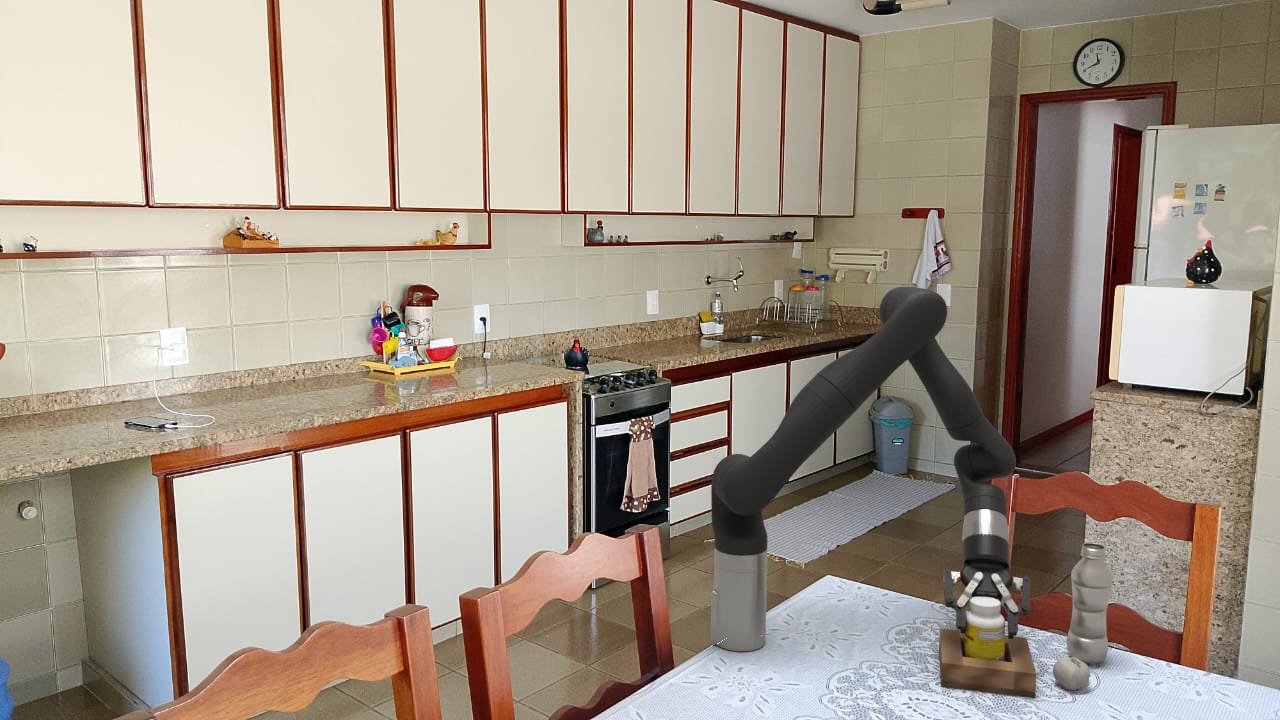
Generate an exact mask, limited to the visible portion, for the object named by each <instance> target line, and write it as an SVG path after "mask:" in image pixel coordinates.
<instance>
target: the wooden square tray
mask: <svg viewBox="0 0 1280 720" xmlns="http://www.w3.org/2000/svg"><path fill="white" fill-rule="evenodd" d="M938 641H939V642H938V657H939V659H938V660H939V672H940V673H939V677H940V687H942V688H948V689H949V688H951V689H958V690H966V691H975V692H980V693H983V692H984V693H990V694H998V695H1005V696H1006V695H1007V696H1015V697H1023V698H1030V699H1036V688H1037V671H1036V667H1035V665H1034V659H1033V656H1032V652H1031V650H1030V649H1031V648H1030V646H1029V642H1028V641H1029V640H1028V639H1027V637H1024V636H1017V635H1016V636H1014V637H1013V639H1008V634H1005V649H1004V662H1003V661H995V660H986V659H977V658H969V657H964V656H965V634H963V633H961V630H958V629H950V628H943V627H941V628H939V640H938Z"/></svg>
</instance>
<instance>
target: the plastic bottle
mask: <svg viewBox="0 0 1280 720" xmlns="http://www.w3.org/2000/svg"><path fill="white" fill-rule="evenodd" d="M1080 556H1081V557H1082V558H1081V559H1080V560H1079V561H1078V562H1077V563H1076V564H1075V565H1074V567H1072V570H1071V574H1070V577H1071V578H1070V579H1071V582H1070V583H1071V591H1072V614H1071V619H1070V627H1069V629H1068V633H1067V637H1066V643H1065V644H1066V649H1067V650H1066V651H1067V653H1068V655H1069V656H1070V658H1071V657H1075V658H1077V659H1079V660H1080V661H1082V662H1084V663H1085V664H1094V665H1097V664H1100V663H1103V662H1104V660H1106V658H1107V655H1108V652H1109V641H1108V636H1107V612H1108V611H1107V610H1108V604H1109V598H1110V594H1111V590H1112V585H1113V575H1112V572H1111V571H1110V568H1109V566H1108V565H1107V564H1106V563H1105V562H1104V560H1106V546H1105V545H1103V544H1100V543H1096V542H1095V543H1094V542H1085V543H1084V542H1083V543H1082V545H1081V551H1080Z"/></svg>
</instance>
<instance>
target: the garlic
mask: <svg viewBox="0 0 1280 720" xmlns="http://www.w3.org/2000/svg"><path fill="white" fill-rule="evenodd" d="M1052 674H1053V678H1054V679H1055V681H1056V682H1058V684H1060V685H1061V686H1062V687H1064V688H1065V689H1067V690H1068V691H1074V690H1080V689H1083V688H1084V687H1087V686H1088V684H1089V680H1090V674H1091V672H1090V668H1089V666H1088V664H1087V663H1084V662H1082V661H1080V660H1079V659H1077V658H1075V657H1071V656H1070V657H1069V656H1067V657H1061V658H1058V659H1057V661H1055V663H1054V664H1053V667H1052Z"/></svg>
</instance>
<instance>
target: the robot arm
mask: <svg viewBox="0 0 1280 720" xmlns="http://www.w3.org/2000/svg"><path fill="white" fill-rule="evenodd" d="M878 311H879V313H878V314H879V318H880V322H881V325H882V326H881V327H880V328H879V329H878V330H877V331H876V332H875V333H874V334H873V335H872V336H871V337H869V338H868V340H866V341H864V342H863V343H862V344H860V345H859V346H857V347H855V348H854V349H852V350H850V351H848V352H846V353H845V354H842V355H841V356H839V357H838V358H836V359H835V360H833V361H832V362H830V363H829V364H827V365H826V366H824V368H822V369H821V370H819V371H818V372H817V373H816V375H814V376H813V377H812V378H811V379H810V380H809V381H808V383H806V384H805V385H804V387H802V389H800V391H799V392H798V393H797V394H796V395H795V396H794V398H793V400H792V402H791V403H790V405H789V406H788V408H787V410H786V413H785V414H784V416H783V418H782V420H781V422H780V424H779V426H778V427H777V429H776V431H774V433H773V434H772V436H771V437H770V438H769V439H767V441H766V442H765V443H764V444H763V445H762V446H761V447H760V448H759V449H758V450H757V451H755V452H754V453H753V454H752V455H751V456H749V455H747V454H741V453H734V454H733V453H732V454H729V455H727V456H725V457H723V458H722V459H721V460H720V461H719V462H718V463H716V466H715V468H714V469H713V473H712V477H711V485H710V486H711V489H710V494H711V496H710V497H711V501H710V503H711V505H710V506H711V526H712V527H711V528H712V532H713V536H714V537H713V538H714V567H713V568H714V569H713V570H714V572H713V573H714V574H713V575H714V576H713V579H714V580H713V582H714V583H713V589H712V590H711V595H710V597H711V598H710V599H711V600H710V601H711V602H710V605H711V606H710V645H714V646H718V647H720V648H722V649H725V650H729V651H732V652H733V651H735V652H751V651H755V650H759V649H761V648H762V647H764V646H765V644H766V635H767V628H766V627H767V589H768V584H767V583H768V582H767V581H768V579H767V578H768V533H767V529H766V526H765V523H764V518H763V517H764V516H763V510H764V509H766V508H767V507H768V506H769V505H770V504H771V503H772V501H773V500H774V499H776V497H777V495H778V494H779V493H780V492H781V490H782V489H783V488H784V486H785V485H786V484H788V481H790V479H791V478H792V477H793V475H794V474H796V472H797V470H798V469H799V468H800V467H801V466H802V465H803V464H804V463H805V462H806V461H807V460H808V459H809V458H810V457H811V456H812V455H813V454H814V453H815V452H816V451H817V450H819V449H820V447H821V446H822V445H823V444H825V442H826V441H827V440H828V439H829V438H830V437H831V436H832V435H833V434H834V433H835V432H837V431H838V430H839V429H840V427H842V426H843V425H844V424H845V423H846V421H848V420H849V419H850V417H852V416H853V415H854V414H855V413H856V412H857V411H858V409H860V407H861V406H862V405H863V404H864V403H865V402H866V401H867V400H868V399H870V397H871V396H872V395H873V394H874V393H875V392H876V391H877V390H878V389H879V388H880V387H881V386H882V385H883V383H885V382H886V381H887V379H888V378H890V376H891V375H892V374H894V372H895V371H897V370H898V368H899V367H900V366H902V365H903V364H904V363H905V362H907V361H908V362H909V364H910V365H911V367H912V368H913V370H914V371H915V373H916V375H917V376H918V378H919V380H920V382H921V383H922V385H923V387H924V389H925V390H926V392H927V395H928V396H929V398H930V400H931V402H932V404H933V406H934V408H935V409H936V411H937V414H938V415H939V417H940V419H941V422H942V424H943V426H944V428H945V430H946V431H947V433H948V435H949V436H950V438H952V439H953V440H955V441H958V442H960V441H961V442H973V443H970V444H966V445H963V446H961V447H959V448H958V449H957V451H955V454H954V457H953V465H954V468H955V471H956V472H955V473H956V475H957V477H958V481H959V484H960V487H961V491H962V495H963V501H964V502H963V515H964V516H963V523H962V524H963V525H962V537H961V541H962V567H961V570H960V571H952V570H951V569H950V568H945V569H944V571H943V575H942V577H943V579H942V580H943V592H944V593H943V594H944V596H943V597H944V605H945V607H946V608H948V609H950V608H951V609H953V610H954V611H955V616H956V617H955V627H956V630H961V633H963V634H965V631H966V614H967V606H968V605H970V600H971V599H972V598H973V597H978V596H985V597H991V598H995V599H997V600H999V601H1000V603H1001V607H1002V608H1003V609H1004V610H1005V612H1006V614H1007V636H1008V639H1013V637H1014V636H1016V637H1017V635H1018V631H1019V620H1018V619H1019V617H1020V616H1024V617H1025V616H1028V615H1029V610H1030V607H1031V584H1032V583H1031V582H1032V581H1031V577H1029V576H1028V575H1027V576H1026V575H1025V576H1023V578H1022V577H1017V576H1013V574H1012V573H1011V570H1010V569H1011V567H1010V564H1011V563H1010V536H1009V535H1010V533H1009V525H1008V520H1007V518H1008V517H1007V497H1006V493H1005V492H1004V490H1003V489H1002V488H1001V487H1000V486H998V485H996V484H992V483H983V482H986V481H990V480H997V479H1002V478H1005V477H1008V476H1010V475H1012V474H1013V473H1014V471H1015V470H1016V466H1017V465H1016V464H1017V458H1016V454H1015V451H1014V449H1013V448H1012V446H1011V445H1010V443H1009V442H1008V441H1007V439H1005V437H1004V436H1003V435H1002V434H1001V433H1000V432H999V431H998V430H997V429H996V428H995V426H993V424H992V423H991V422H990V421H989V420H988V418H987V417H986V416H985V414H984V412H983V410H982V408H981V405H980V404H979V402H978V400H977V398H976V395H975V393H974V392H973V390H972V388H971V387H970V385H969V384H968V382H967V381H966V380H965V378H964V377H963V375H962V374H961V373H960V372H959V370H958V369H957V368H956V367H955V366H954V364H953V363H952V362H951V361H950V359H949V358H948V357H947V356H946V354H945V353H944V351H943V350H942V349H943V348H941V346H940V345H939V343H938V341H937V339H936V337H937V335H939V333H940V332H941V331H942V329H943V328H944V326H945V324H946V321H947V318H948V305H947V303H946V301H945V299H944V298H943V296H942V295H941V294H939V293H937V292H935V291H933V290H930V289H926V288H921V287H915V286H897V287H895V288H892V289H890V290H889V291H888V292H886V293H885V294H884V296H883V297H882V299H881V301H880V304H879V310H878ZM958 580H959V581H961V583H962V584H963V585H964V587H965V589H964V590H963V593H962V594H961V596H960V597H959V598H955V597H954V589H953V588H954V587H953V586H955V585H956V584H957V581H958ZM1012 585H1014V586H1015V588H1016V590H1017V592H1020V604H1018V605H1017V603H1015V601H1014V600H1013V598H1012V595H1011V593H1010V591H1009V589H1010V588H1011V587H1012ZM726 638H727V639H726ZM724 639H725V640H724ZM722 640H723V641H722ZM721 641H722V642H721ZM719 642H720V643H719ZM717 643H719V644H717ZM715 644H717V645H715ZM719 645H720V646H719Z"/></svg>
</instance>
